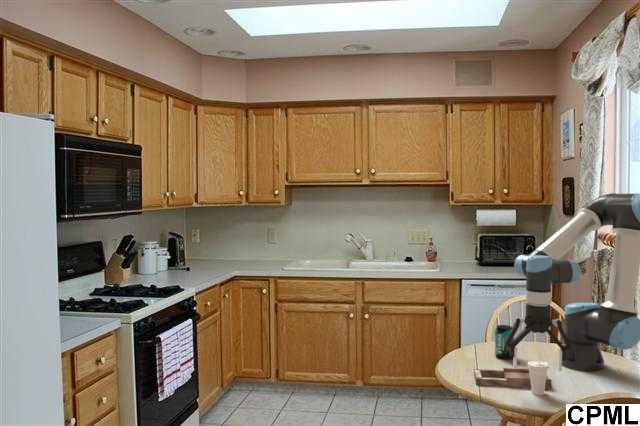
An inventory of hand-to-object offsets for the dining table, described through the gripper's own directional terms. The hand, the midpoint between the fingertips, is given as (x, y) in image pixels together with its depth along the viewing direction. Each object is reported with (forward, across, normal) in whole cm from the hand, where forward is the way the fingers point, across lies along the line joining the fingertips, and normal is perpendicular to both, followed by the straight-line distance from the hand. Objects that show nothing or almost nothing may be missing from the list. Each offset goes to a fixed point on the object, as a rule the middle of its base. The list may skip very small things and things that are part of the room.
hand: (537, 368), depth 178 cm
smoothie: (+8, 0, 0) cm, 8 cm away
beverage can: (+8, +6, -37) cm, 38 cm away
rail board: (+8, +6, -10) cm, 14 cm away
